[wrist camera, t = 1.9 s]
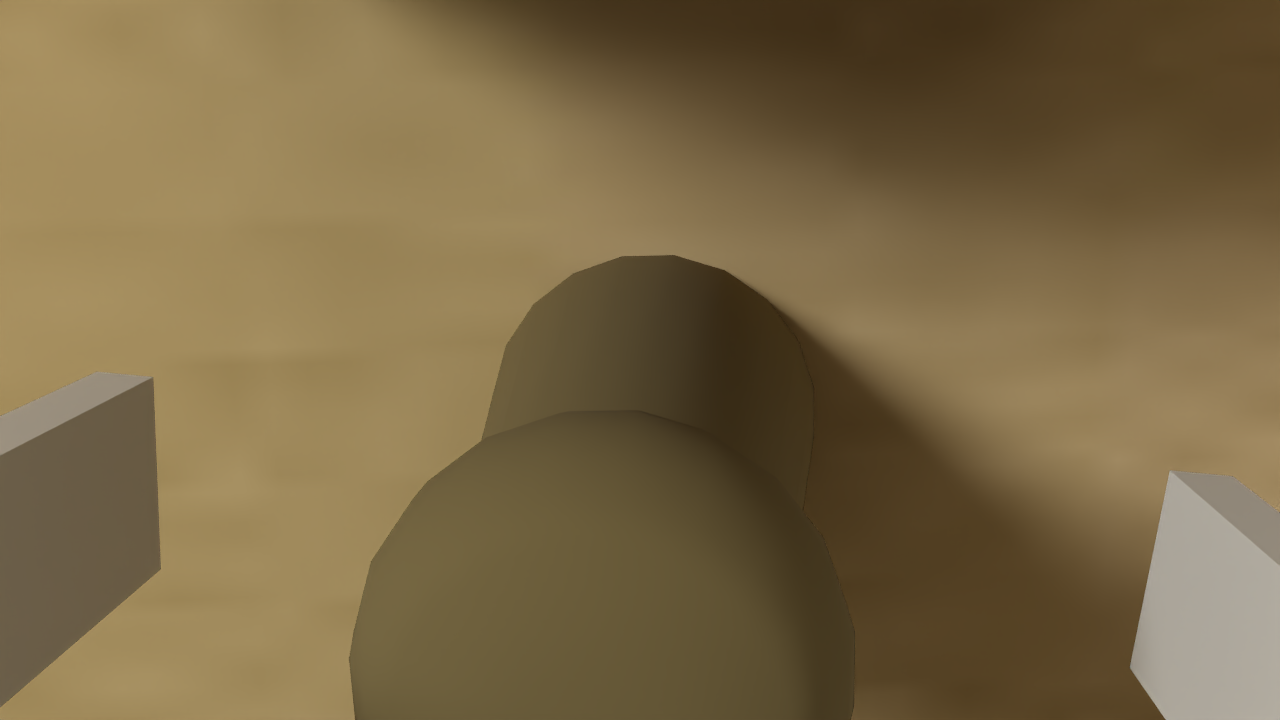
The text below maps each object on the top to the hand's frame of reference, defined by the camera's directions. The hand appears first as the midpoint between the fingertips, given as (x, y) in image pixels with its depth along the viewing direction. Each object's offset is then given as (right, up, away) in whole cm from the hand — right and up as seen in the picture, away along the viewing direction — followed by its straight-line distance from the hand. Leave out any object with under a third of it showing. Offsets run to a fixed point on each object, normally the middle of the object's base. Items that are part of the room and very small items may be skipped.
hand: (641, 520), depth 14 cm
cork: (0, +1, +7) cm, 7 cm away
